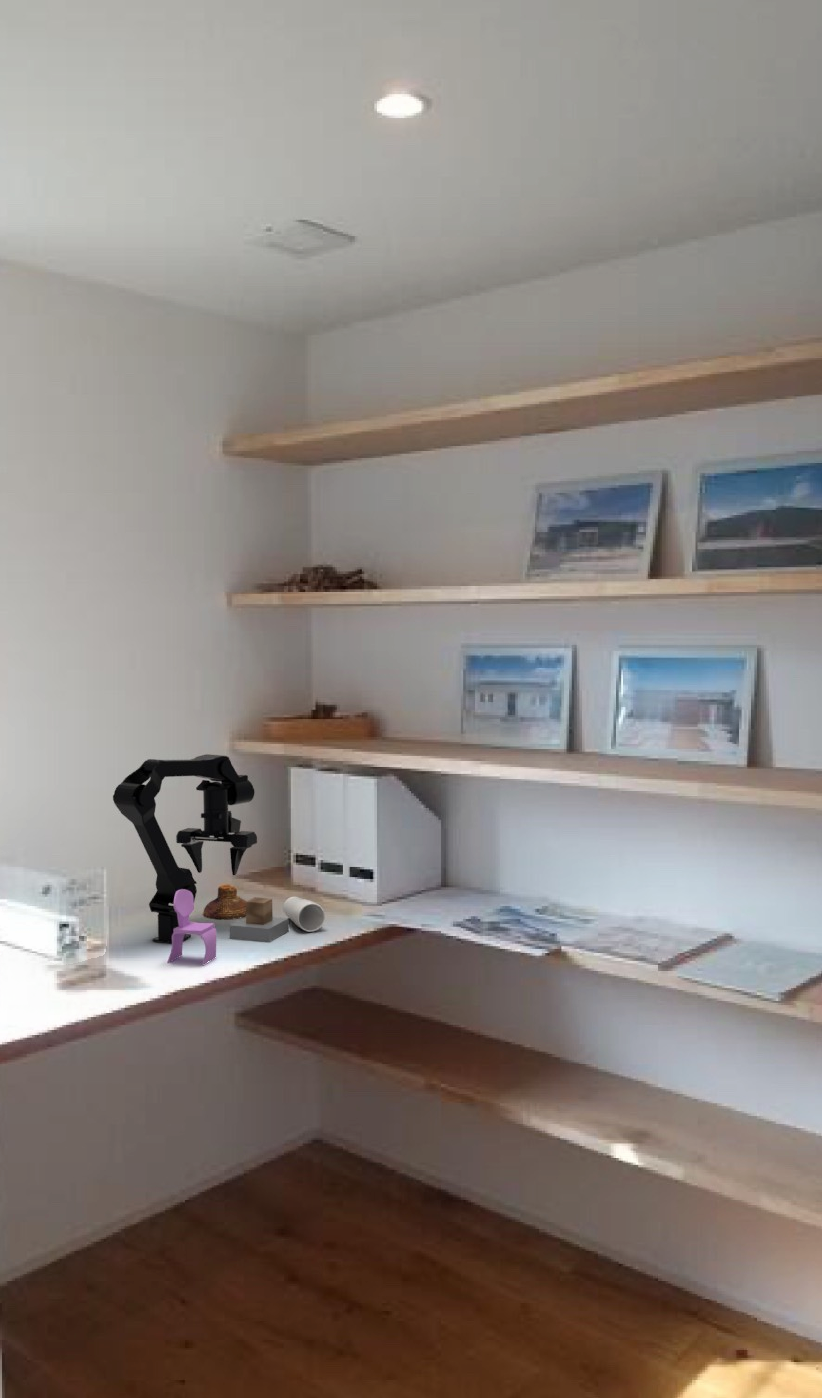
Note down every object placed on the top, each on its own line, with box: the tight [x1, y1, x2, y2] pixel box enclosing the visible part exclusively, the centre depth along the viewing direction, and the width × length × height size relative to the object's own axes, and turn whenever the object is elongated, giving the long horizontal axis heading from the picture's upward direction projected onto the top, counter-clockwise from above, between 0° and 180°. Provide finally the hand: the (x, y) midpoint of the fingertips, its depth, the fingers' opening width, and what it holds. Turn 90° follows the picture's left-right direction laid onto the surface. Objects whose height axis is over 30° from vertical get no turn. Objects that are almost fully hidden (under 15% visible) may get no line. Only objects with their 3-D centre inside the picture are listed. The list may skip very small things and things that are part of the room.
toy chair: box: [166, 889, 218, 965], centre depth 248 cm, size 8×9×15 cm
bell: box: [203, 884, 247, 920], centre depth 289 cm, size 12×12×7 cm
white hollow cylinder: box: [282, 896, 326, 933], centre depth 277 cm, size 7×7×15 cm
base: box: [228, 916, 290, 943], centre depth 269 cm, size 10×10×3 cm
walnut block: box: [245, 897, 274, 925], centre depth 268 cm, size 4×4×5 cm
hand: (217, 873), depth 276 cm, fingers open, 9 cm apart
